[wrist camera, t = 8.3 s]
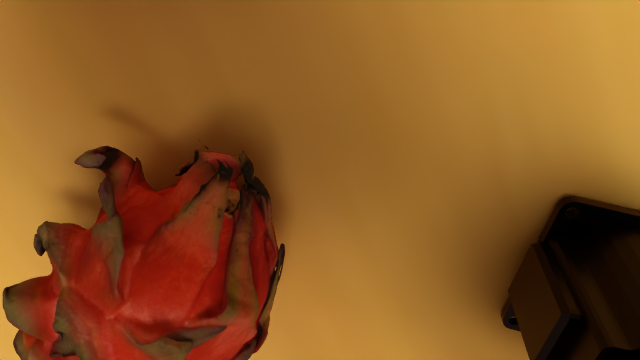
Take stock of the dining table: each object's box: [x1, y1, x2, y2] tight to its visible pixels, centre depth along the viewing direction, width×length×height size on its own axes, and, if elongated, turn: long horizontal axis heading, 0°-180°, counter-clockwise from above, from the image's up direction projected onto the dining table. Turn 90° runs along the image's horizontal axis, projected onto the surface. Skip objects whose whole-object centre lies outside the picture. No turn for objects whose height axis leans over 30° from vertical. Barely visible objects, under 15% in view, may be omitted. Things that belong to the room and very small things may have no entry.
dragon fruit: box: [3, 140, 285, 360], centre depth 20 cm, size 8×8×12 cm
